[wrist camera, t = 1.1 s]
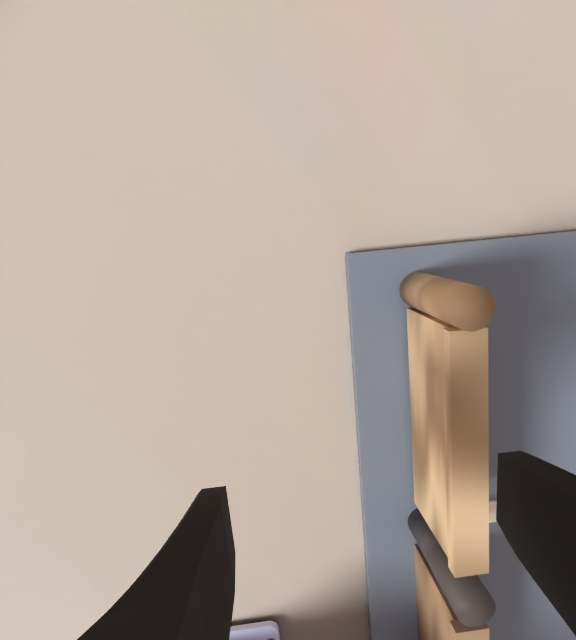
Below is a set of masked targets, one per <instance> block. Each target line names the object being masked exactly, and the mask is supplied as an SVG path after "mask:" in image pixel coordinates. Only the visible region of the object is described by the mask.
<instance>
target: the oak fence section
mask: <svg viewBox="0 0 576 640" xmlns="http://www.w3.org/2000/svg"><path fill="white" fill-rule="evenodd" d="M399 292H400V297H401V299H402V300H403V302H404V303H406V304H407V305H409V306H411V307H410V308H407V332H408V356H409V381H410V406H411V430H412V455H413V480H414V503H415V504H416V506H417V508H418V509H419V511H420V513H421V514H422V516H423V518H424V519H425V521H426V523H427V524H428V526H429V528H430V529H431V531H432V532H433V534H434V536H435V537H436V539H437V541H438V542H439V544H440V546H441V547H442V549H443V551H444V552H445V554H446V555H447V557H448V567H449V569H450V571H451V572H452V574H453V576H454V577H455V578H459V577H466V576H473V575H480V574H486V573H489V411H488V327H486V326H487V325H488V324H489V322H490V321H491V320H492V318H493V316H494V313H495V300H494V297H493V295H492V294H491V292H490V291H489V290H487V289H486V288H484V287H482V286H478V285H473V284H469V283H465V282H460V281H456V280H452V279H448V278H443V277H439V276H435V275H430V274H426V273H422V272H413V273H411V274H409V275H407V276H406V277H405V278H404V279H403V280H402V282H401V284H400V289H399Z"/></svg>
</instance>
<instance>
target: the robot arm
mask: <svg viewBox="0 0 576 640" xmlns="http://www.w3.org/2000/svg"><path fill="white" fill-rule="evenodd" d="M496 521H497V522H498V524H499V526H500V528H501V530H502V532H503V533H504V535H505V537H506V539H507V541H508V542H509V544H510V546H511V548H512V549H513V551H514V553H515V554H516V556H517V557H518V559H519V560H520V562H521V563H522V564H523V566H524V567H525V569H526V570H527V571H528V573H529V574H530V575H531V577H532V578H533V580H534V581H535V582H536V584H537V585H538V586H539V588H540V589H541V590H542V592H543V593H544V594H545V596H546V597H547V598H548V600H549V601H550V602H551V604H552V605H553V606H554V608H555V609H556V610H557V612H558V613H559V614H560V616H561V617H562V618H563V620H564V621H565V623H566V624H567V625H568V627H569V628H570V629H571V631H572V632H573V633H574V635H575V636H576V475H575V474H572V473H570V472H568V471H566V470H564V469H562V468H560V467H557V466H555V465H553V464H551V463H549V462H547V461H544V460H542V459H540V458H538V457H535V456H533V455H531V454H528V453H526V452H523V451H513V452H504V453H498V466H497V504H496ZM234 595H235V547H234V540H233V534H232V527H231V520H230V513H229V506H228V499H227V492H226V486H223V487H215V488H206V489H202V490H201V491H200V492H199V493H198V495H197V496H196V498H195V500H194V501H193V503H192V504H191V506H190V508H189V509H188V511H187V512H186V514H185V515H184V517H183V518H182V520H181V521H180V523H179V524H178V526H177V527H176V529H175V530H174V531H173V533H172V534H171V536H170V537H169V538H168V540H167V541H166V543H165V544H164V546H163V547H162V548H161V550H160V551H159V552H158V553H157V555H156V556H155V557H154V559H153V560H152V561H151V562H150V564H149V565H148V566H147V567H146V569H145V570H144V571H143V572H142V574H141V575H140V576H139V577H138V578H137V580H136V581H135V582H134V583H133V584H132V585H131V587H130V588H129V589H128V590H127V591H126V592H125V593H124V594H123V596H122V597H121V598H120V599H119V600H118V601H117V602H116V603H115V604H114V605H113V606H112V607H111V608H110V609H109V610H108V611H107V612H106V613H105V614H104V615H103V616H102V617H101V618H100V619H99V620H98V621H97V622H96V623H95V624H93V625H92V626H91V627H90V628H89V629H88V630H87V631H86V632H85V633H84V634H83V635H82V636H81V637H79V638H78V639H77V640H268V639H269V638H273V639H272V640H280V635H279V627H278V624H277V623H276V622H274V621H264V622H257V623H250V624H243V625H237V626H231V620H232V612H233V604H234Z"/></svg>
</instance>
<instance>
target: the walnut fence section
mask: <svg viewBox="0 0 576 640" xmlns="http://www.w3.org/2000/svg"><path fill="white" fill-rule="evenodd" d="M408 527H409V529H410V531H411V532H412V534H413V536H414V538H415V540H416V542H417V544H414V551H415V575H416V600H417V624H418V640H489V627H488V625H487V624H486V623H487V622H488V621H489V620H490V619H491V618H492V617H493V615H494V613H495V609H496V605H495V601H494V599H493V598H492V596H491V595H490V593H489V592H488V590H487V589H486V587H485V586H484V584H483V583H482V581H481V580H480V578H479V577H478V575H473V576H466V577H459V578H455V577H454V576H453V574H452V572H451V571H450V569H449V567H448V557H447V555H446V554H445V552H444V551H443V549H442V547H441V546H440V544H439V542H438V541H437V539H436V537H435V536H434V534H433V532H432V531H431V529H430V528H429V526H428V524H427V523H426V521H425V519H424V518H423V516H422V514H421V513H420V511H419V509H418V508H417V509H415V510H413V511H412V512H411V514H410V515H409V517H408Z"/></svg>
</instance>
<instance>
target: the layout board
mask: <svg viewBox="0 0 576 640" xmlns="http://www.w3.org/2000/svg"><path fill="white" fill-rule="evenodd" d="M345 261H346V276H347V291H348V306H349V321H350V336H351V351H352V366H353V381H354V396H355V411H356V426H357V441H358V456H359V471H360V486H361V501H362V516H363V531H364V546H365V561H366V576H367V591H368V606H369V621H370V636H371V640H418V624H417V600H416V575H415V551H414V544H417V542H416V540H415V538H414V536H413V534H412V532H411V531H410V529H409V527H408V517H409V515H410V514H411V512H412V511H413V510H415V509H417V506H416V504H415V503H414V480H413V455H412V430H411V406H410V381H409V356H408V332H407V308H410V307H411V306H409V305H407V304H406V303H404V302H403V300H402V299H401V297H400V292H399V289H400V284H401V282H402V280H403V279H404V278H405V277H406V276H407V275H409V274H411V273H413V272H422V273H426V274H430V275H435V276H439V277H443V278H448V279H452V280H456V281H460V282H465V283H469V284H473V285H478V286H482V287H484V288H486V289H487V290H489V291H490V292H491V294H492V295H493V297H494V300H495V313H494V316H493V318H492V320H491V321H490V322H489V324H488V325H487V326H486V327H488V411H489V573H486V574H480V575H478V577H479V578H480V580H481V581H482V583H483V584H484V586H485V587H486V589H487V590H488V592H489V593H490V595H491V596H492V598H493V599H494V601H495V605H496V609H495V613H494V615H493V617H492V618H491V619H490V620H489V621H488V622H487V623H486V624H487V625H488V627H489V640H576V636H575V635H574V633H573V632H572V631H571V629H570V628H569V627H568V625H567V624H566V623H565V621H564V620H563V618H562V617H561V616H560V614H559V613H558V612H557V610H556V609H555V608H554V606H553V605H552V604H551V602H550V601H549V600H548V598H547V597H546V596H545V594H544V593H543V592H542V590H541V589H540V588H539V586H538V585H537V584H536V582H535V581H534V580H533V578H532V577H531V575H530V574H529V573H528V571H527V570H526V569H525V567H524V566H523V564H522V563H521V562H520V560H519V559H518V557H517V556H516V554H515V553H514V551H513V549H512V548H511V546H510V544H509V542H508V541H507V539H506V537H505V535H504V533H503V532H502V530H501V528H500V526H499V524H498V522H497V521H496V504H497V466H498V453H504V452H513V451H523V452H526V453H528V454H531V455H533V456H535V457H538V458H540V459H542V460H544V461H547V462H549V463H551V464H553V465H555V466H557V467H560V468H562V469H564V470H566V471H568V472H570V473H572V474H575V475H576V231H565V232H555V233H545V234H535V235H525V236H515V237H505V238H494V239H484V240H474V241H464V242H454V243H444V244H433V245H423V246H413V247H403V248H393V249H383V250H372V251H362V252H352V253H345Z"/></svg>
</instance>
